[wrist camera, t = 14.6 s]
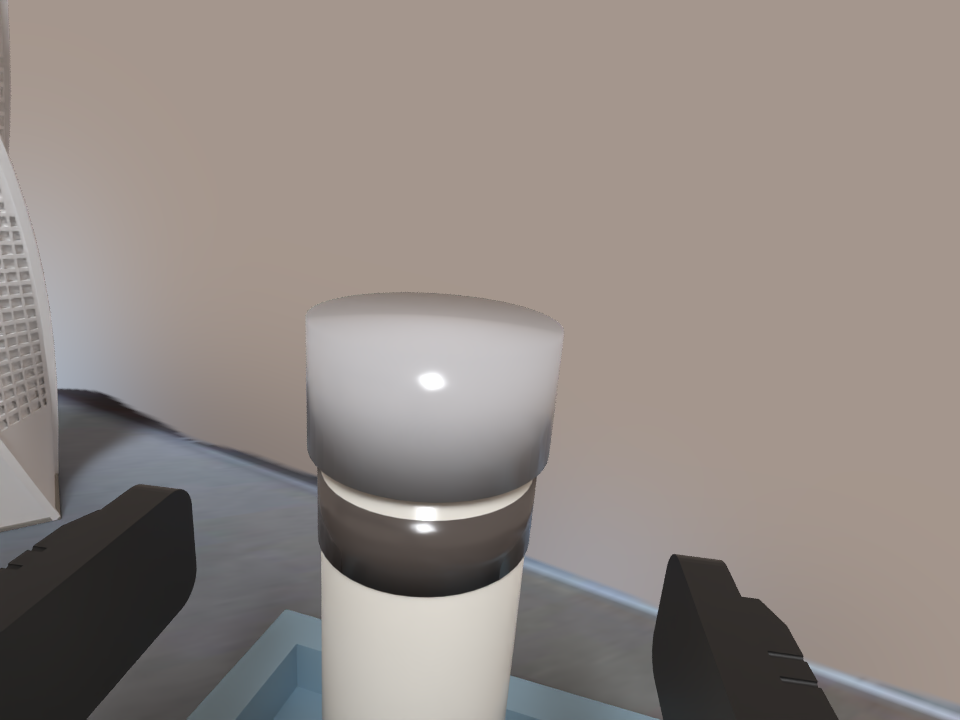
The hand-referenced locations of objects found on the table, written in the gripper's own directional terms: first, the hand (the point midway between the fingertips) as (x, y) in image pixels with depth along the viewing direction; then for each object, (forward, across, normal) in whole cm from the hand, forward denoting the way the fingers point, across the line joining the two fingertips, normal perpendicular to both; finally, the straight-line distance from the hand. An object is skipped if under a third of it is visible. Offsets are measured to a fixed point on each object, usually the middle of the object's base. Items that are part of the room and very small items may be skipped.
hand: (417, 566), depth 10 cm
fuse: (0, 0, +10) cm, 10 cm away
